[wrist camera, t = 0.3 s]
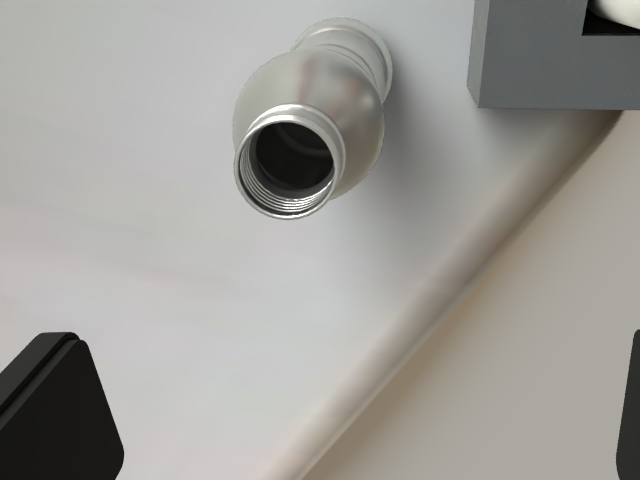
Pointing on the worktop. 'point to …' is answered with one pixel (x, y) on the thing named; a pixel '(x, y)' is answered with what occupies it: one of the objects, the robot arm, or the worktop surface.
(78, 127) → the worktop surface
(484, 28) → the panel
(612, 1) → the cream plug
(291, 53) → the plastic bottle
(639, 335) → the robot arm
